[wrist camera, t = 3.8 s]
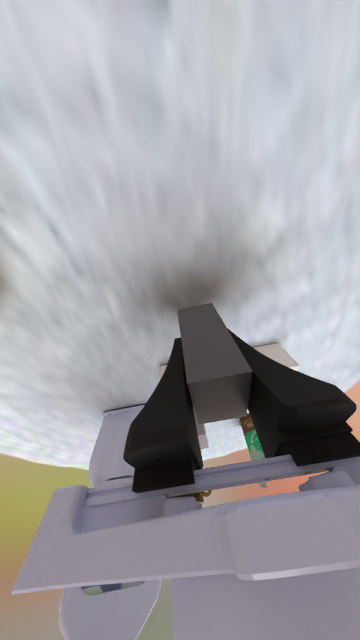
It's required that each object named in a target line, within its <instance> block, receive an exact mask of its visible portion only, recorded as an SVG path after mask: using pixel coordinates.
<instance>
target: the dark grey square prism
mask: <svg viewBox="0 0 360 640" xmlns="http://www.w3.org/2000/svg"><path fill="white" fill-rule="evenodd" d="M178 317H179V325H180V332H181V340H182V348H183V356H184V363H185V371H186V379H187V385H188V388H189V392H190V396H191V399H192V403H193V406H194V410H195V413H196V417H197V420H198V424H204V423H210V422H216V421H221V420H227V419H233V418H239V417H244V416H247V409H248V402H249V395H250V387H251V380H252V372H253V371H252V369H251V368H250V366H249V364H248V363H247V361H246V359H245V358H244V356H243V354H242V353H241V351H240V349H239V348H238V346H237V344H236V343H235V341H234V339H233V338H232V336H231V334H230V333H229V331H228V329H227V328H226V326H225V324H224V323H223V321H222V319H221V318H220V316H219V314H218V313H217V311H216V309H215V308H214V306H213V304H212V303H210V304H205V305H200V306H196V307H191V308H186V309H181V310H178Z"/></svg>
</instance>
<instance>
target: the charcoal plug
mask: <svg viewBox="0 0 360 640" xmlns="http://www.w3.org/2000/svg"><path fill="white" fill-rule="evenodd" d="M193 409H194V406H193ZM194 415H195V421H196V427H197V433H198V439H199V444H200V449H203V448H209V447H208V442H207V436H206V431H205V426H204V424H198V420H197V417H196V413H195V410H194Z"/></svg>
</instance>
